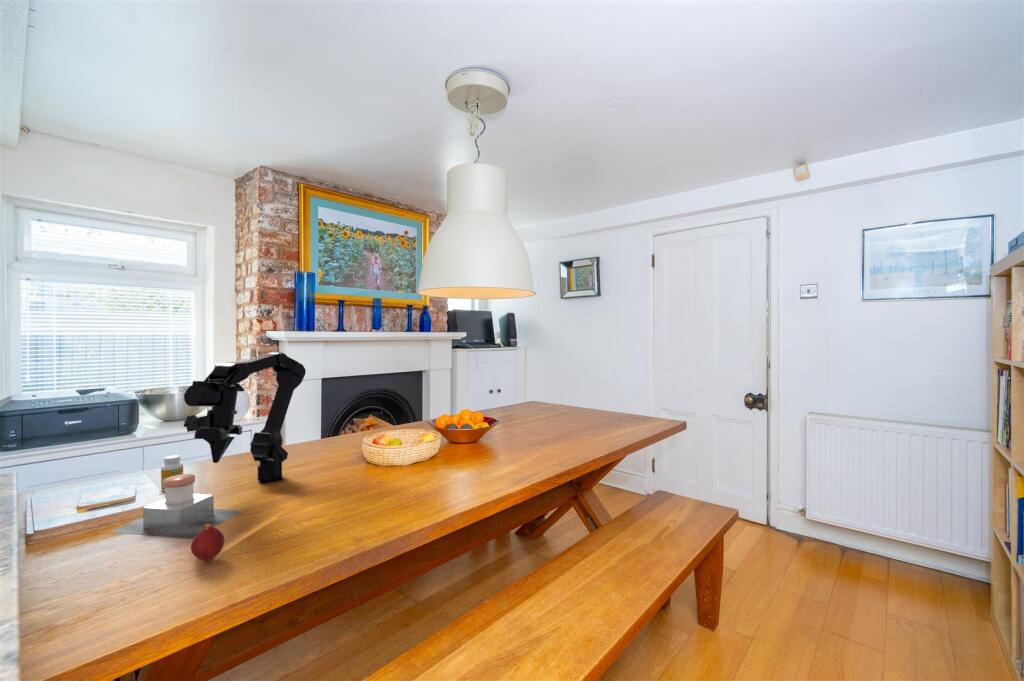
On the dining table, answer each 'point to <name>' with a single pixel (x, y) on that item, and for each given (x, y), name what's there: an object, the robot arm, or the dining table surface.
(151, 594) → the dining table surface
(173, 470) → the supplement bottle
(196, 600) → the dining table surface
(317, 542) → the dining table surface
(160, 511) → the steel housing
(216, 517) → the slate board
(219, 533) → the onion
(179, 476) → the terracotta plug
